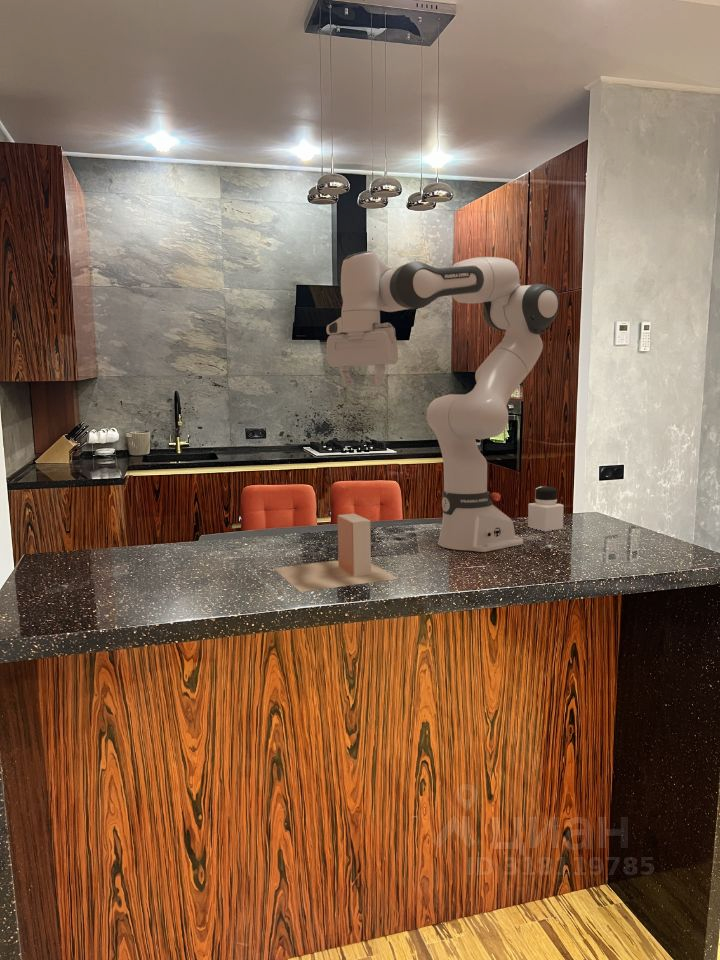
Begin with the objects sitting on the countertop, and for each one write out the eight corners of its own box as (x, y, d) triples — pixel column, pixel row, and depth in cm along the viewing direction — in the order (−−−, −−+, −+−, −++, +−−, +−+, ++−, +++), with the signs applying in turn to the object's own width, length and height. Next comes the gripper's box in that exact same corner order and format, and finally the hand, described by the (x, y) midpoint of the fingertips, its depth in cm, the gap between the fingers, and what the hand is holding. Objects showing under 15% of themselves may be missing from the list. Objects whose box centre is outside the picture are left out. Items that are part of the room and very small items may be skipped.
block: (355, 564, 162) (354, 513, 160) (371, 574, 154) (370, 520, 152) (338, 566, 160) (337, 515, 159) (353, 576, 152) (352, 522, 150)
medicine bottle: (563, 529, 201) (564, 487, 199) (545, 532, 198) (546, 489, 196) (545, 524, 207) (546, 484, 205) (527, 527, 204) (528, 486, 202)
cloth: (362, 561, 169) (362, 557, 168) (398, 583, 150) (398, 578, 150) (273, 572, 160) (273, 568, 160) (300, 596, 142) (300, 591, 142)
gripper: (403, 322, 156) (404, 385, 158) (340, 328, 171) (342, 385, 173) (384, 321, 152) (385, 385, 154) (321, 327, 166) (323, 386, 168)
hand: (362, 385), depth 164 cm, fingers open, 8 cm apart
